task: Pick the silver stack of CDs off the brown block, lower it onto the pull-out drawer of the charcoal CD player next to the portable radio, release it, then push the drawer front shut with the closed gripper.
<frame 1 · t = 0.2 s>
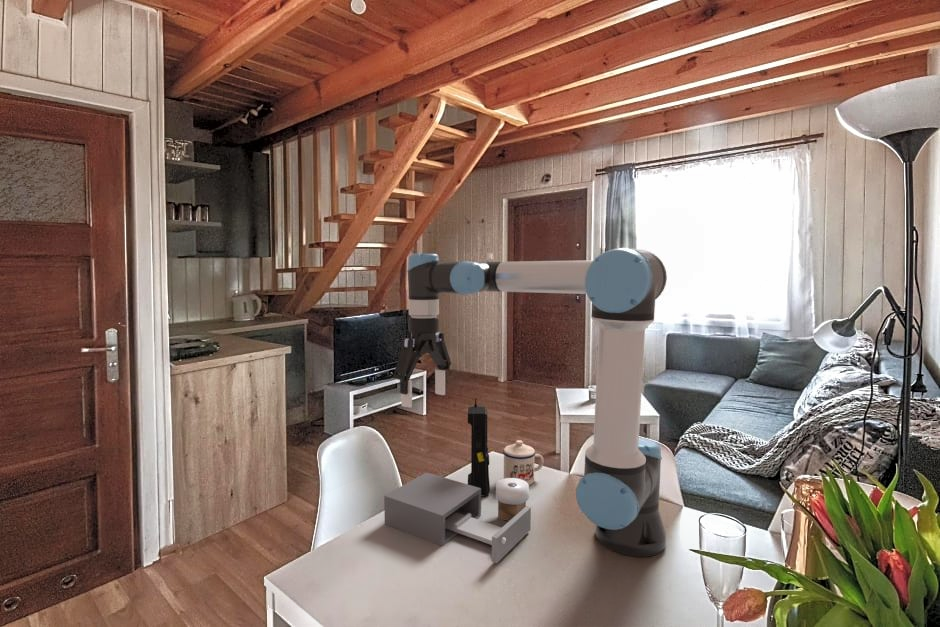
hand: (424, 400, 126), 27 cm above the table, fingers open, 13 cm apart
cd stack: (512, 496, 123), point 5 cm above the table, touching brown block
pull-out drawer: (481, 522, 114), point 3 cm above the table, slide at 11.0 cm
brown block: (511, 516, 123), on the table
player housing: (433, 519, 121), on the table
teacup with lid: (523, 480, 144), on the table
portable radio: (478, 491, 137), on the table
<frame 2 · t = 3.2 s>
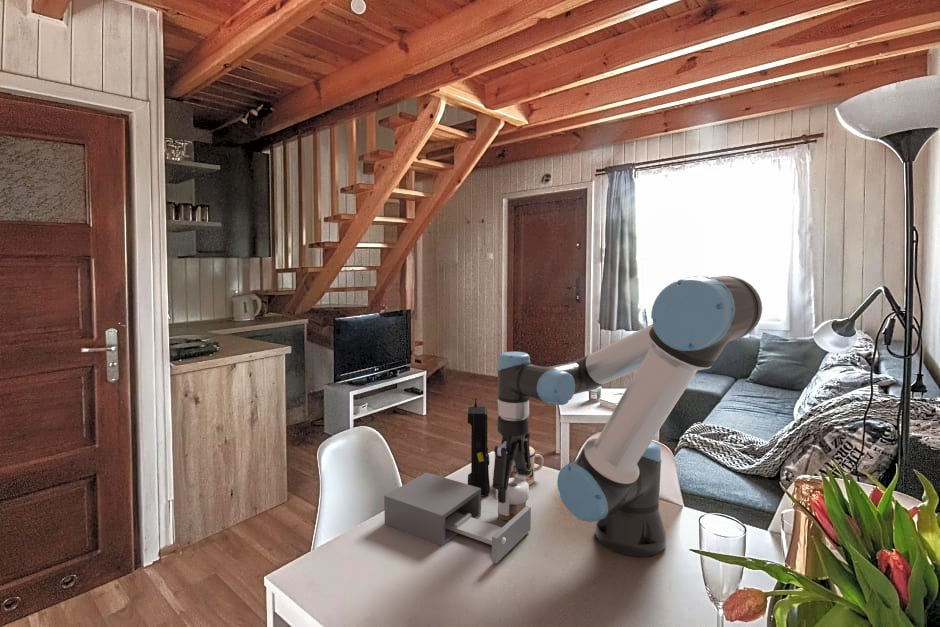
hand: (512, 506, 123), 2 cm above the table, fingers closed on cd stack, 8 cm apart
cd stack: (512, 496, 123), point 5 cm above the table, touching gripper, brown block
everything else where it was.
when the fingers open (1 cm above the table, at t = 8.4 s): cd stack drops 2 cm, resting on pull-out drawer.
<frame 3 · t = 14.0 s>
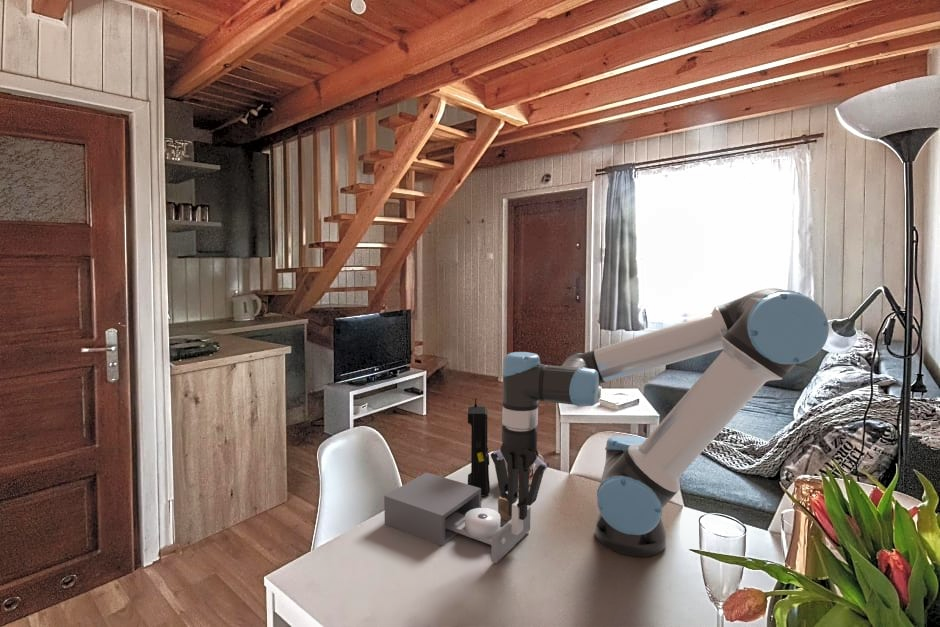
hand: (517, 531, 108), 4 cm above the table, fingers closed
cd stack: (482, 528, 114), point 2 cm above the table, touching pull-out drawer
pull-out drawer: (481, 522, 114), point 3 cm above the table, slide at 10.9 cm, touching cd stack, gripper
everything else where it was.
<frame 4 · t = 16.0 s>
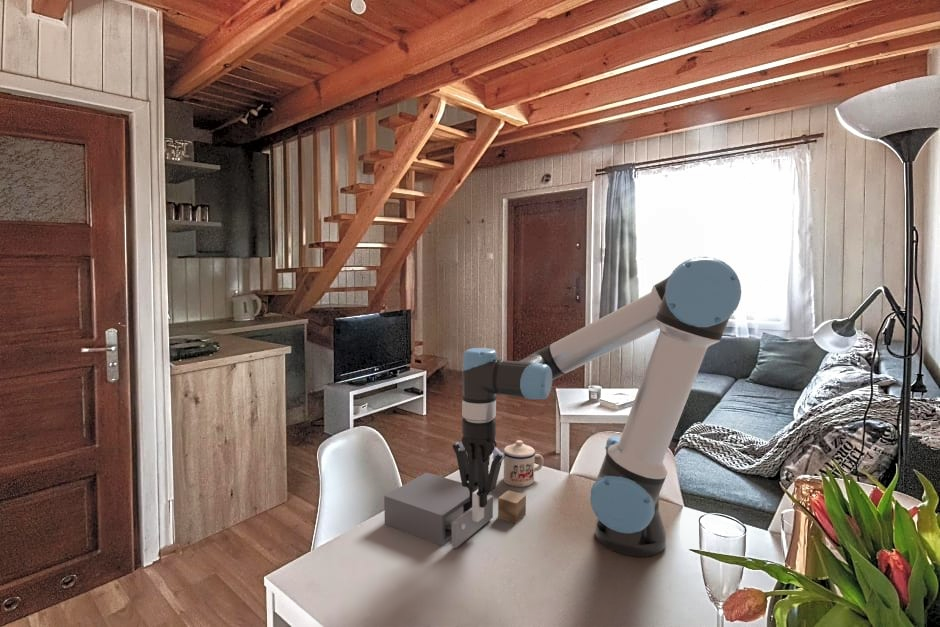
hand: (478, 518, 114), 4 cm above the table, fingers closed
cd stack: (446, 516, 119), point 2 cm above the table, touching pull-out drawer
pull-out drawer: (445, 510, 119), point 3 cm above the table, slide at 0.9 cm, touching cd stack, gripper
everything else where it was.
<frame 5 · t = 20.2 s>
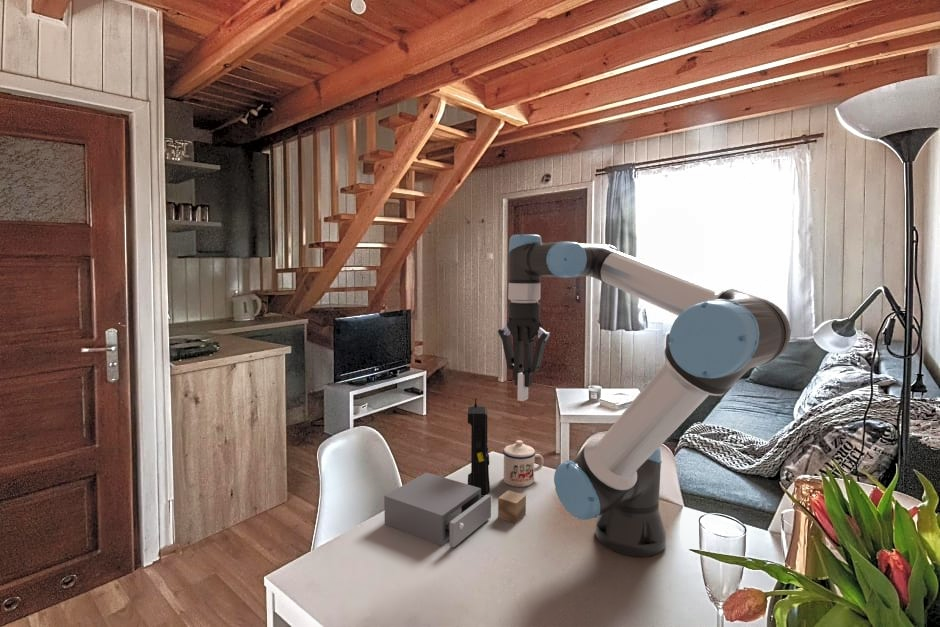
hand: (522, 399, 120), 29 cm above the table, fingers closed
pull-out drawer: (443, 509, 119), point 3 cm above the table, slide at 0.4 cm, touching cd stack
everything else where it was.
at the end: pull-out drawer slide at 0.4 cm; cd stack inside the target area on the player housing (2.8 cm from its centre), point 1.9 cm above the player housing's base; the gripper is holding nothing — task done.
